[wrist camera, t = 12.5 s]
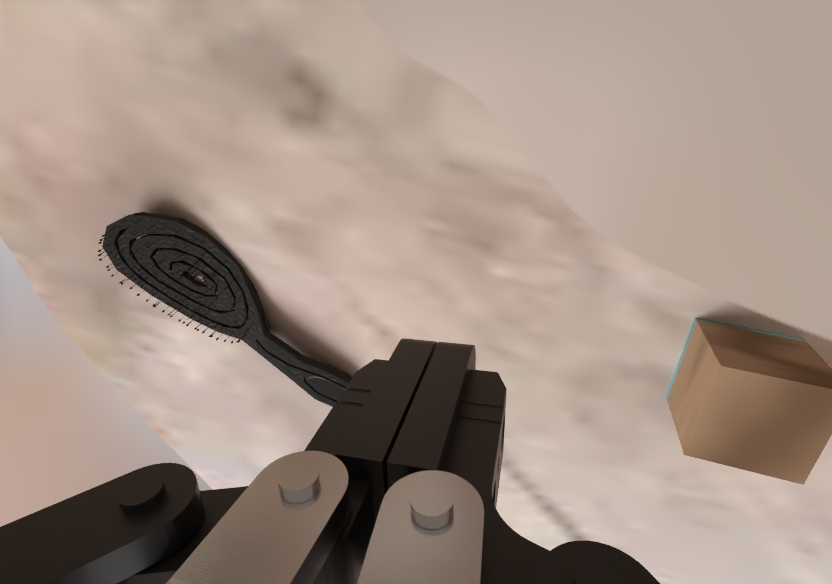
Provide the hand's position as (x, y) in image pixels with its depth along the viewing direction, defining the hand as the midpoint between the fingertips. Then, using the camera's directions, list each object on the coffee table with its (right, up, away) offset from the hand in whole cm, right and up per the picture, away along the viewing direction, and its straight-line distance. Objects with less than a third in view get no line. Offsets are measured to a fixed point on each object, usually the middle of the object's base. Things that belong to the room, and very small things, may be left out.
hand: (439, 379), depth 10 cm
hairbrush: (-14, 0, +31) cm, 34 cm away
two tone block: (+18, -5, +16) cm, 24 cm away
